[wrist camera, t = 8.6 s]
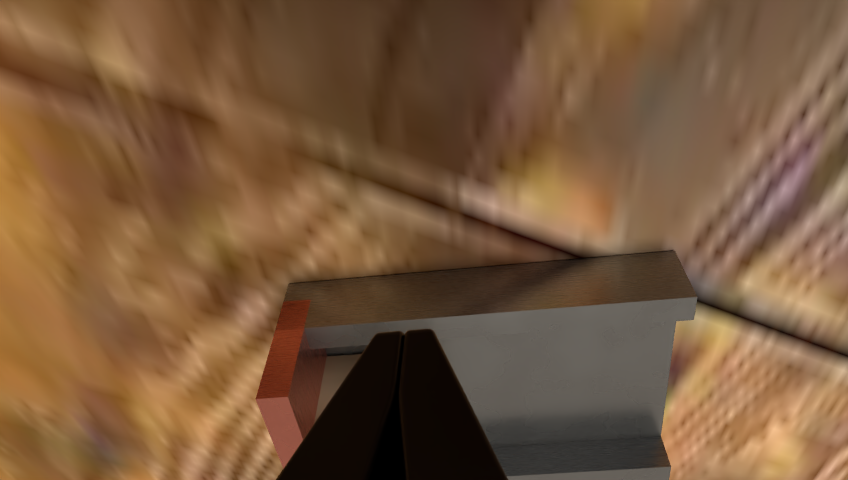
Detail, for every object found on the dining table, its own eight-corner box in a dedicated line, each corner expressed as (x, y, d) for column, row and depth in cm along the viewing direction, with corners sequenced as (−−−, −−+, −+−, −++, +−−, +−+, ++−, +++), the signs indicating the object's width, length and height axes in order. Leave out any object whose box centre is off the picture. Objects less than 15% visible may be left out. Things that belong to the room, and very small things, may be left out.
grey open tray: (674, 250, 23) (730, 365, 19) (652, 431, 29) (691, 552, 25) (288, 283, 25) (255, 399, 20) (341, 451, 30) (324, 570, 26)
